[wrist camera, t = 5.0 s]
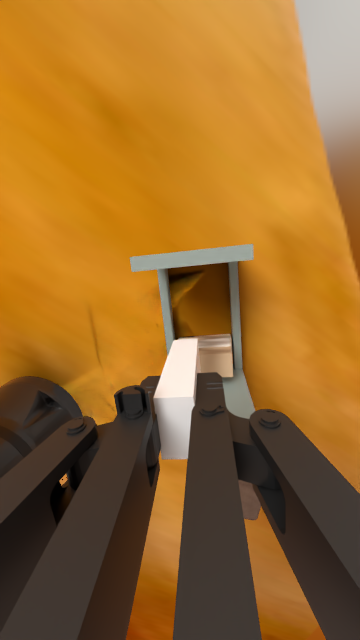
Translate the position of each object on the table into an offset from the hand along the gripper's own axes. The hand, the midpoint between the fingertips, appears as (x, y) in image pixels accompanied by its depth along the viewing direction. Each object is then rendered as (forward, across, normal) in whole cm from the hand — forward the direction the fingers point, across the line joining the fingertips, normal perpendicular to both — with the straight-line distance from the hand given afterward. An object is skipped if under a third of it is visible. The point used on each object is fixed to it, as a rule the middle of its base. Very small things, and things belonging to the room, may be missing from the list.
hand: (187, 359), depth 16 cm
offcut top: (+15, +1, -6) cm, 16 cm away
